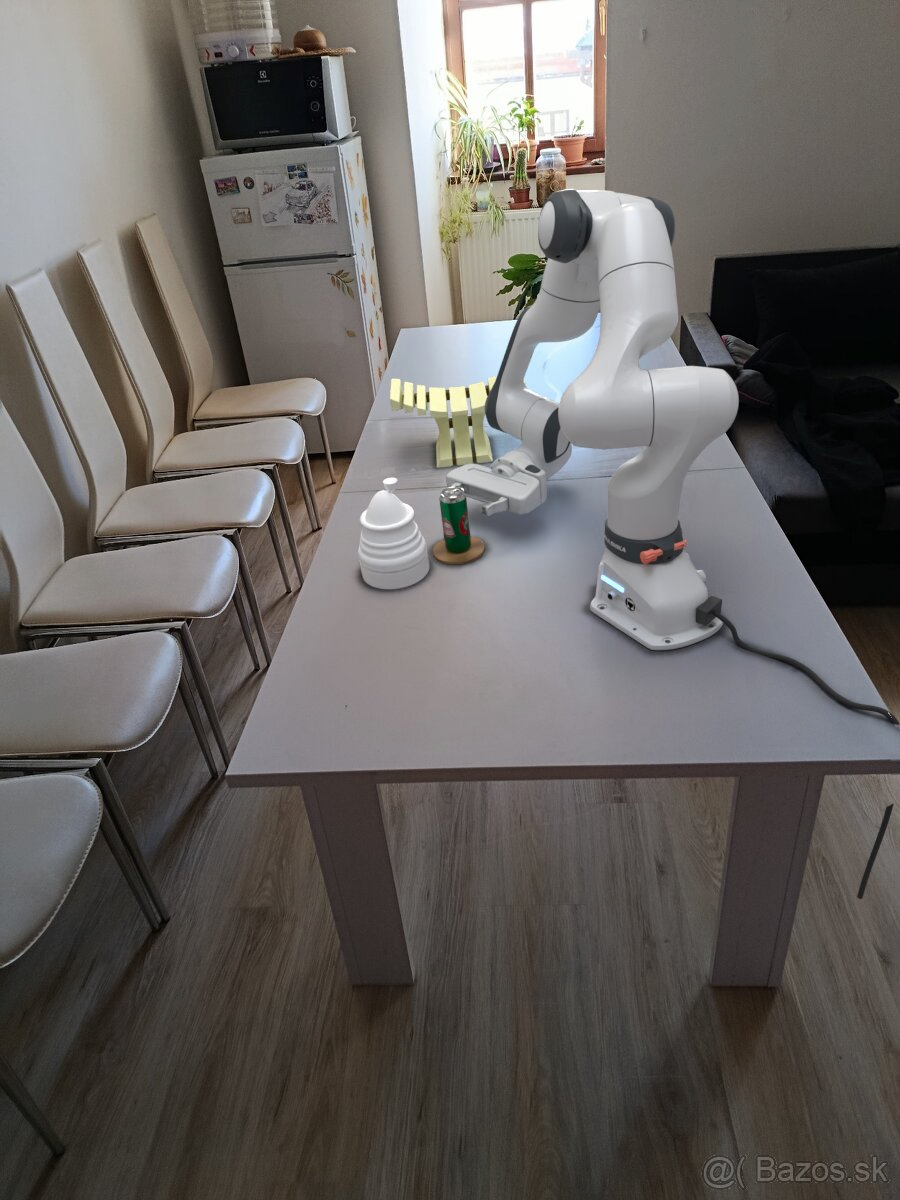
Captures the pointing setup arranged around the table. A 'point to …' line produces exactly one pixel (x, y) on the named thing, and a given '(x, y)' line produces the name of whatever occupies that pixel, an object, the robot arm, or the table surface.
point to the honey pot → (391, 542)
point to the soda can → (455, 519)
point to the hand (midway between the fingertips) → (466, 504)
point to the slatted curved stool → (457, 422)
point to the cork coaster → (458, 558)
